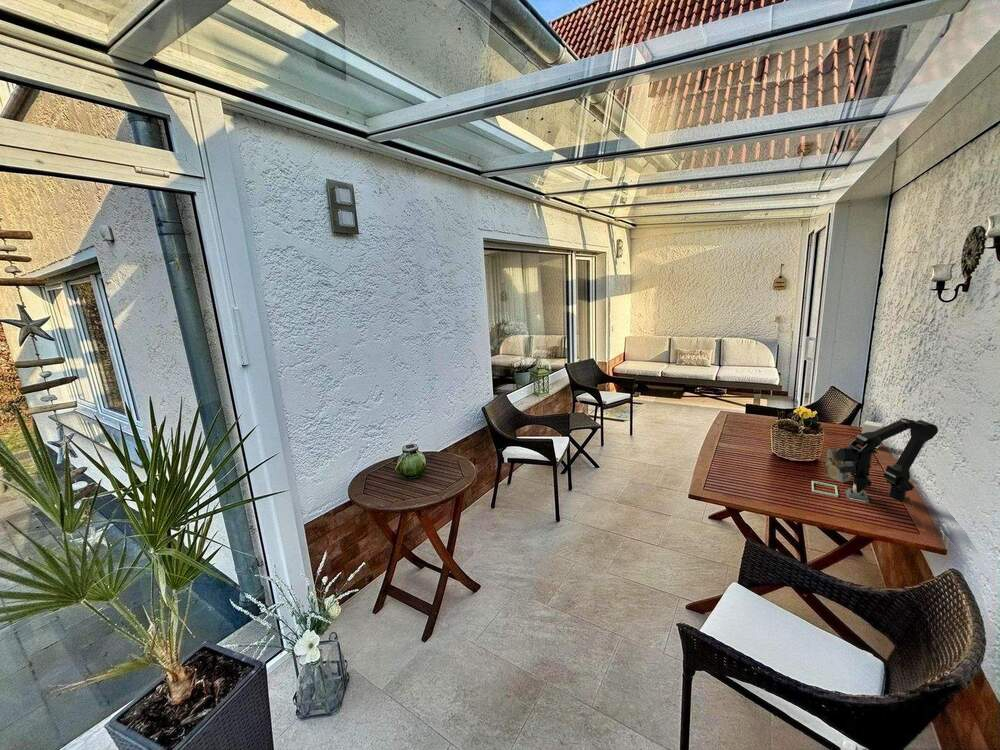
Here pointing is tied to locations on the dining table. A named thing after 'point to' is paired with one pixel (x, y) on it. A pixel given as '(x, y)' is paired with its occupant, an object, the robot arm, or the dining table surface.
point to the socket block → (856, 496)
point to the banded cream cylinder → (856, 490)
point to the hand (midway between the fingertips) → (857, 491)
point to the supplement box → (872, 427)
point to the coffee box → (835, 466)
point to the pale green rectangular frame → (824, 492)
